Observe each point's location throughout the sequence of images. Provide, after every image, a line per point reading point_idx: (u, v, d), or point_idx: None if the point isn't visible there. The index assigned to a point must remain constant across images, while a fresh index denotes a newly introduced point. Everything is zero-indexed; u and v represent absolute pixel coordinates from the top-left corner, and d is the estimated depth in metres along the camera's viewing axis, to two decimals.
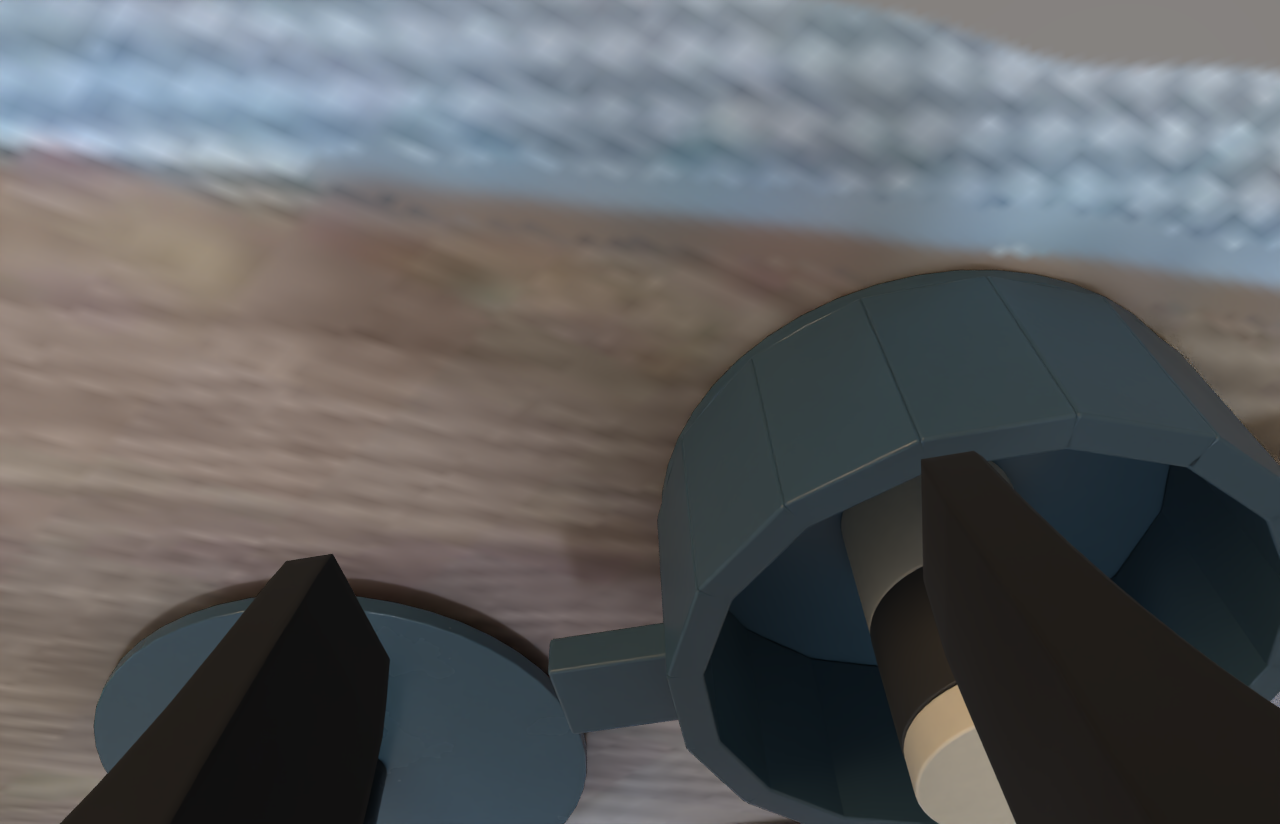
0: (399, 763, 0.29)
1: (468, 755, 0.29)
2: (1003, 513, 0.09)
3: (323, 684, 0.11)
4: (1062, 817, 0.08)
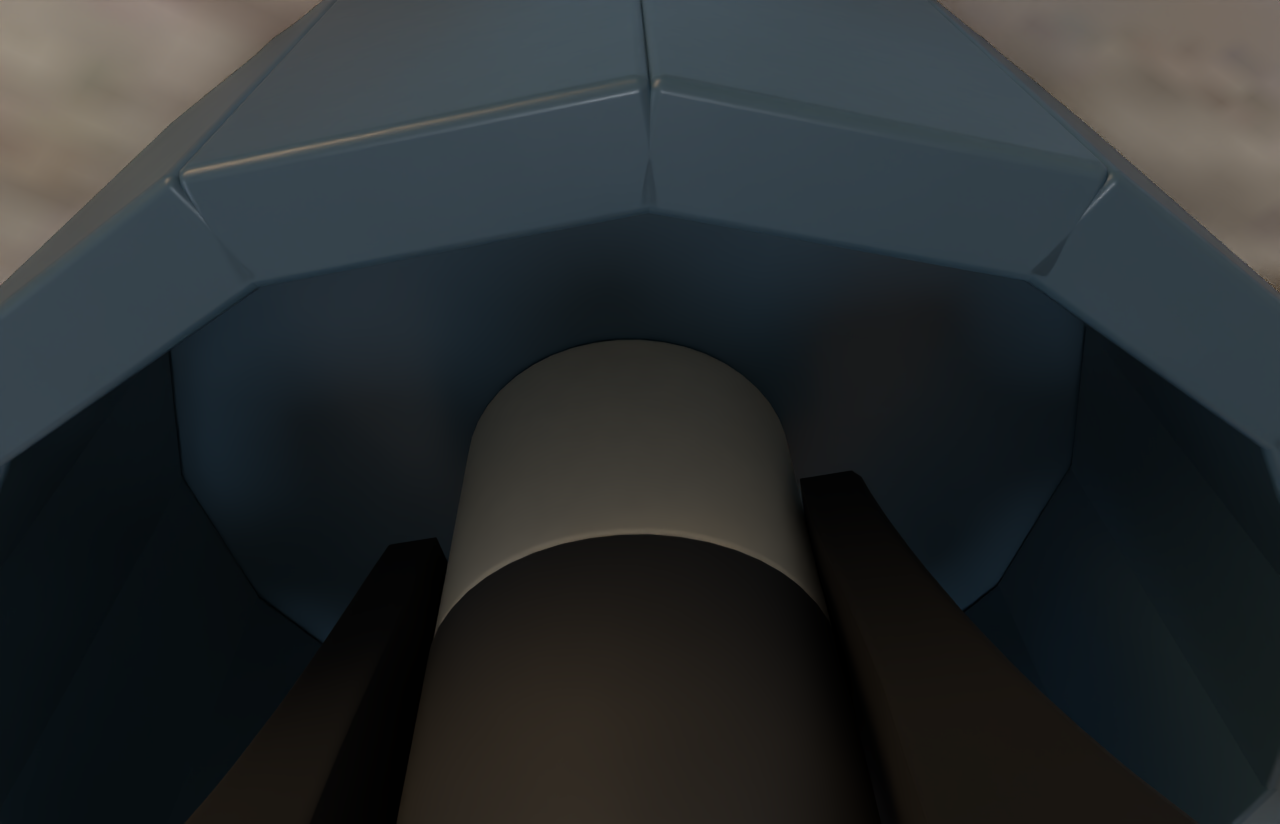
0: None
1: None
2: (864, 535, 0.10)
3: None
4: None
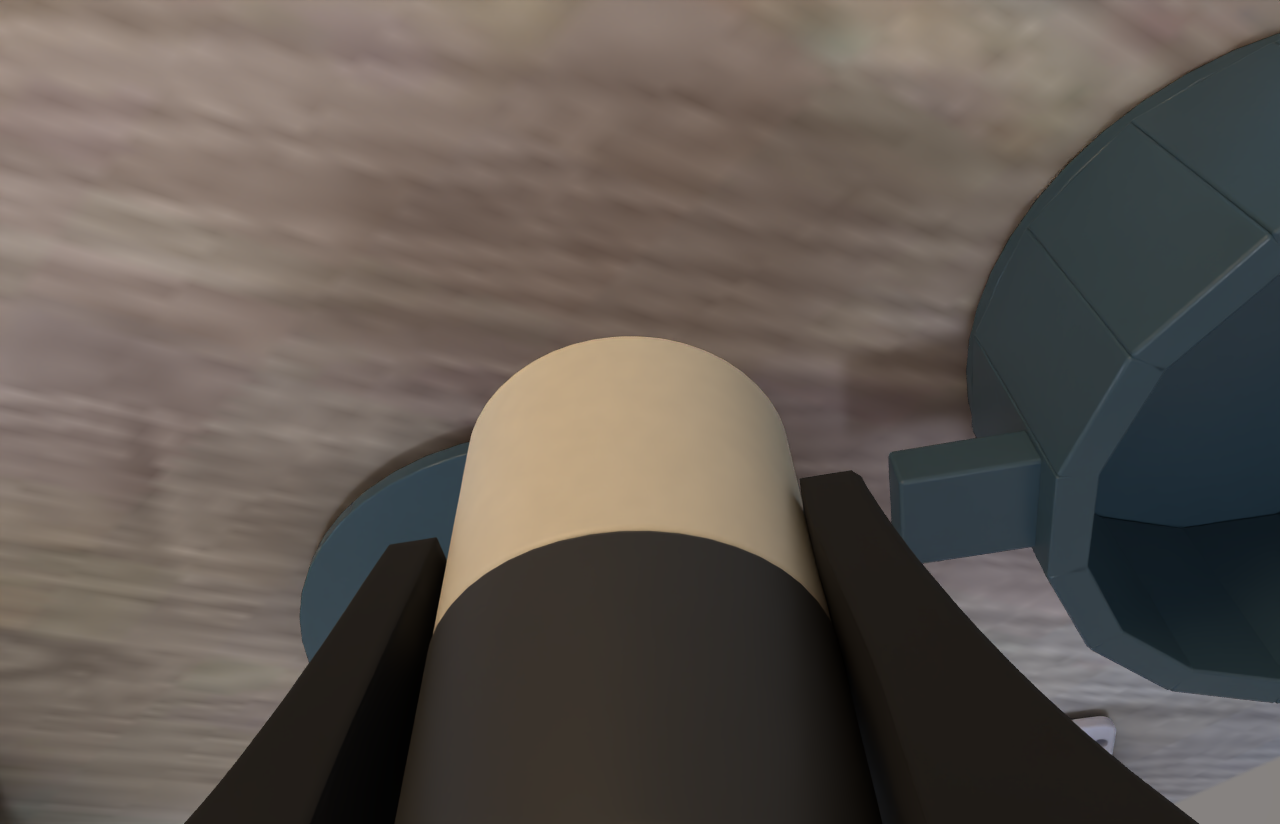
0: None
1: None
2: (864, 535, 0.10)
3: None
4: None
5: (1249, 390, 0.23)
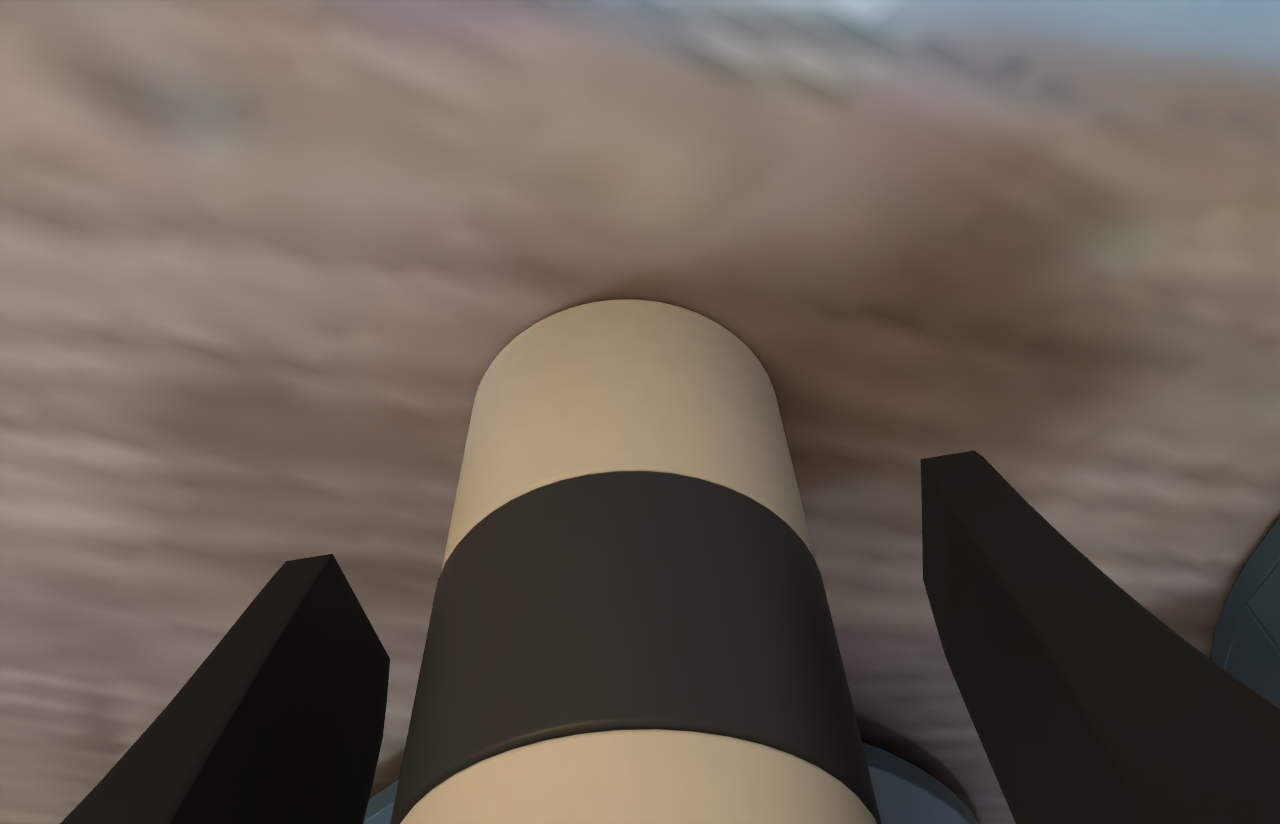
0: None
1: None
2: (1003, 513, 0.09)
3: (324, 684, 0.11)
4: (1063, 818, 0.08)
5: None
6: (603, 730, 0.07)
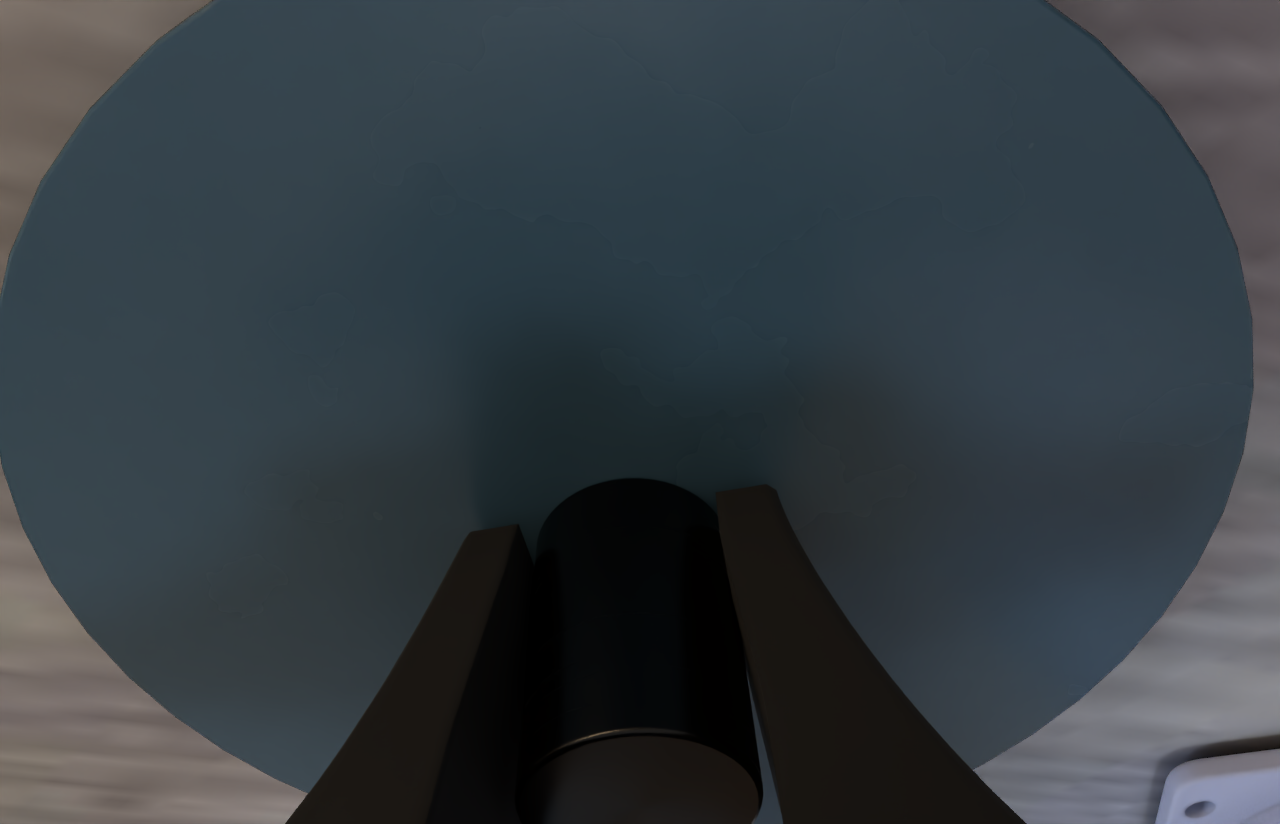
0: None
1: (941, 508, 0.12)
2: (767, 549, 0.10)
3: (522, 655, 0.10)
4: None
5: None
6: None
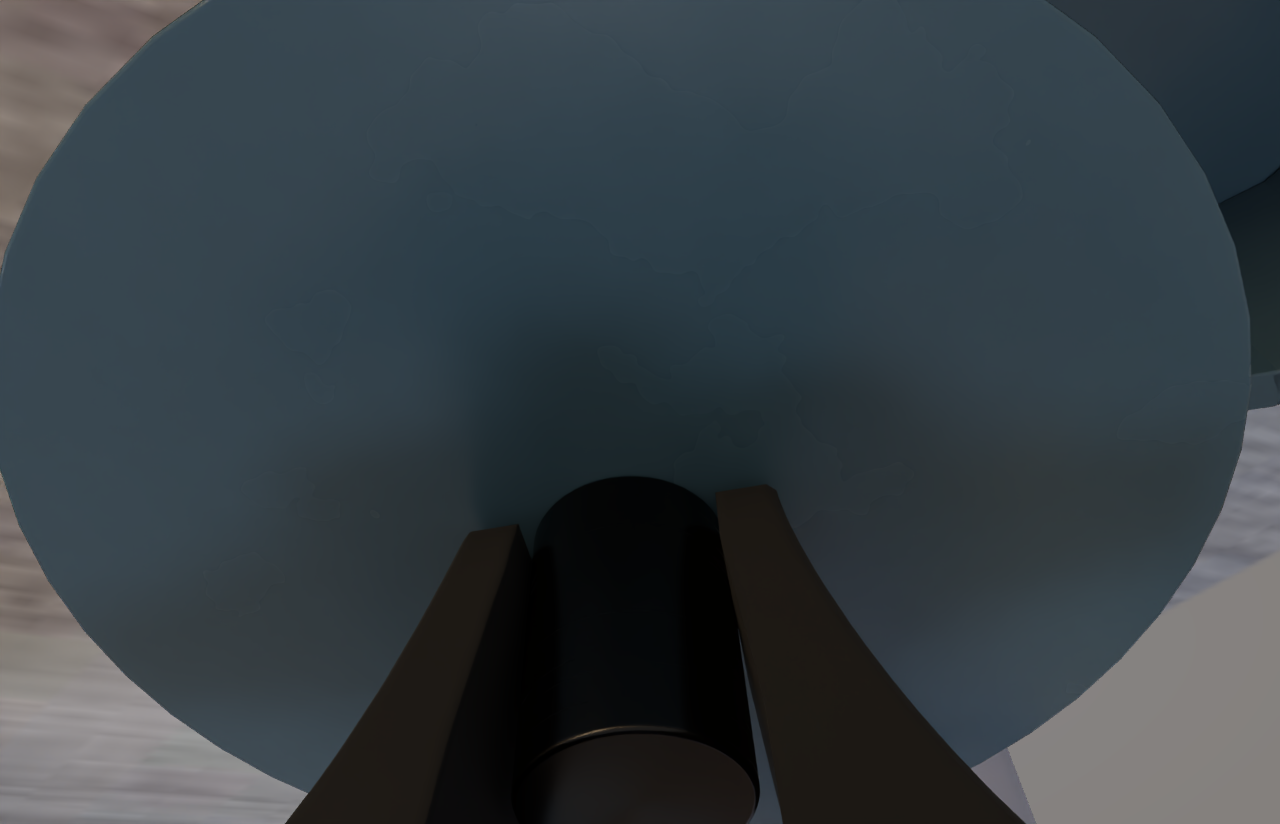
0: None
1: (939, 507, 0.12)
2: (767, 549, 0.10)
3: (522, 655, 0.10)
4: None
5: None
6: None
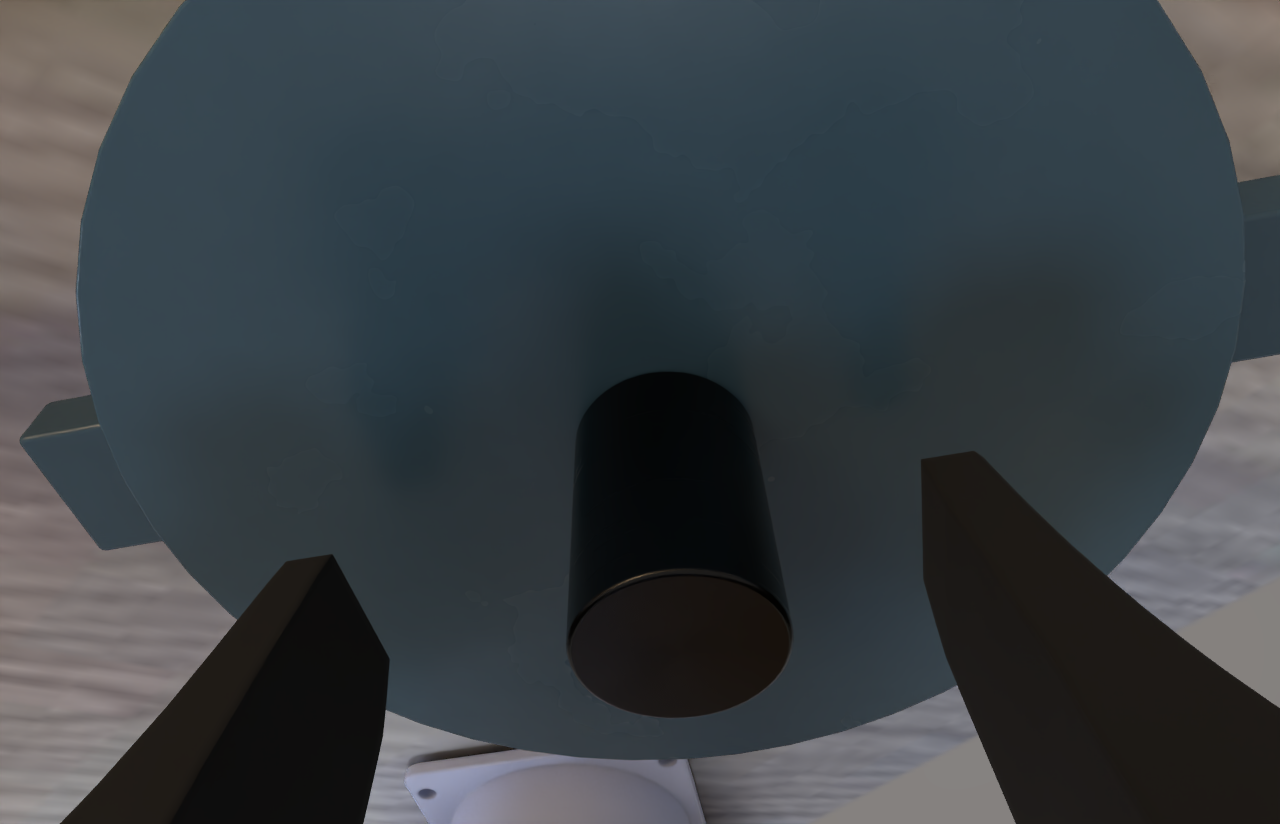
0: (787, 426, 0.13)
1: (954, 403, 0.12)
2: (1003, 513, 0.09)
3: (323, 685, 0.11)
4: (1063, 818, 0.08)
5: None
6: None
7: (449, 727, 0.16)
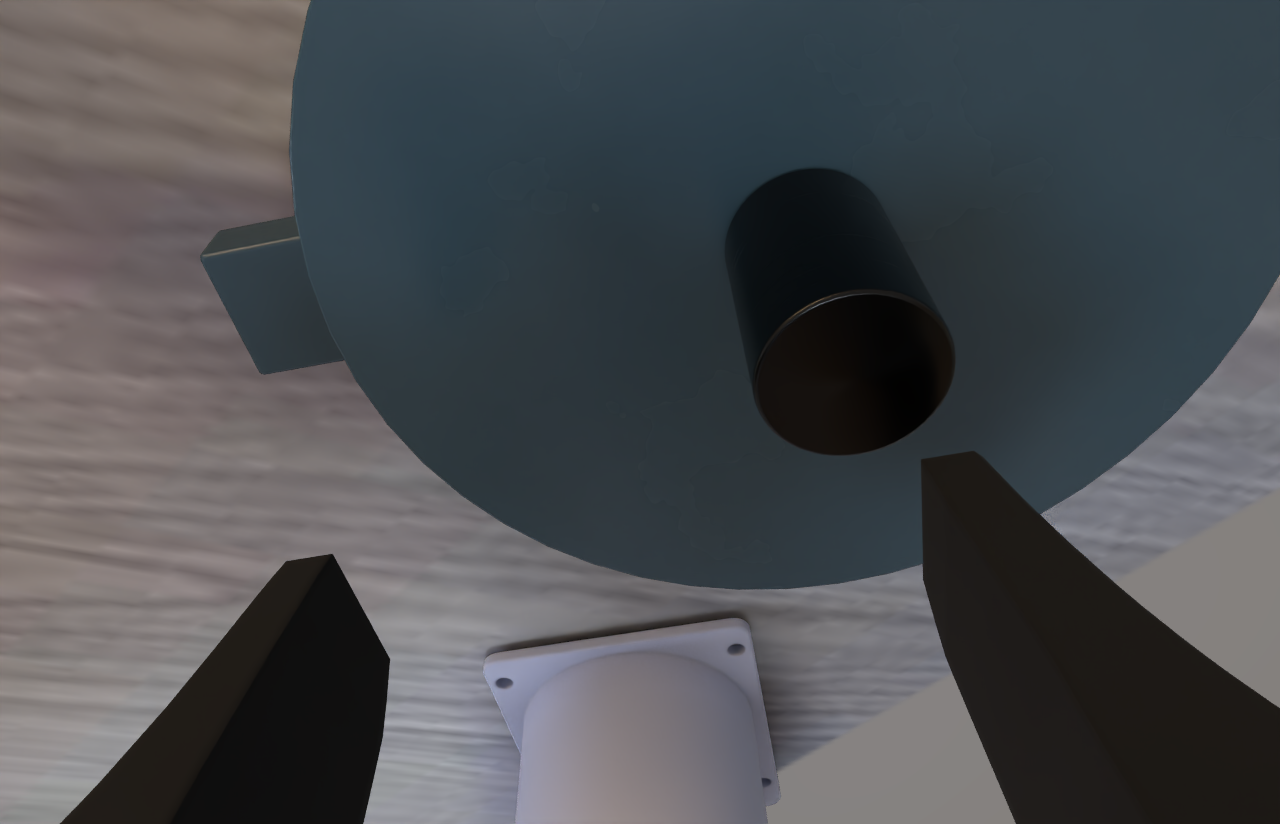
0: (917, 229, 0.14)
1: (1070, 206, 0.14)
2: (1003, 513, 0.09)
3: (323, 684, 0.11)
4: (1063, 818, 0.08)
5: None
6: None
7: (574, 551, 0.18)
